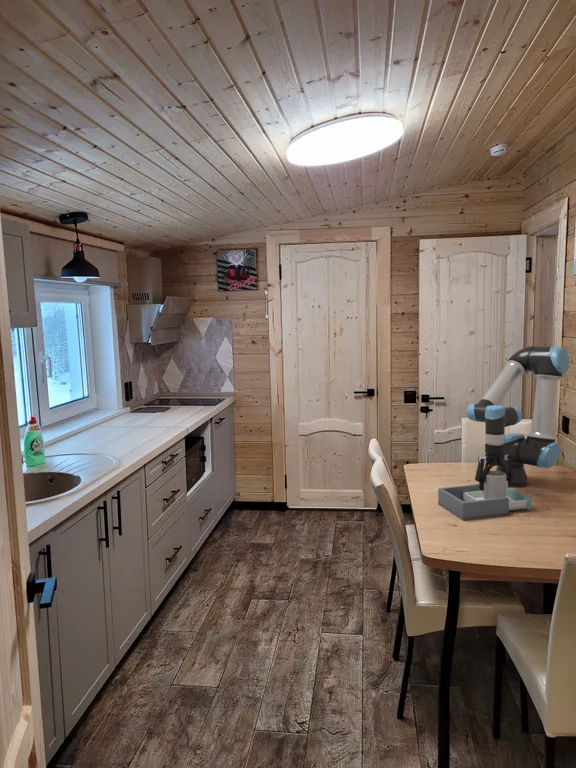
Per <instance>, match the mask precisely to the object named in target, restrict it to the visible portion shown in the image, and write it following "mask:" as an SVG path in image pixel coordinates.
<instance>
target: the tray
mask: <svg viewBox="0 0 576 768" xmlns="http://www.w3.org/2000/svg"><path fill="white" fill-rule="evenodd" d="M506 497H508V498H509V511H516V510H525V509H527V510H531V509H532V498H531V497H529V496H527V495H526V494H523V493H521V492H518V491H516V490H514V489H512V488H511V487H509V488H508V496H506ZM463 500H464V501H465V502H469V501H477V500H485V499H484V498H482V497H481V491H473V492H464V493H463Z"/></svg>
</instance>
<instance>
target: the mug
mask: <svg viewBox="0 0 576 768" xmlns="http://www.w3.org/2000/svg"><path fill="white" fill-rule="evenodd" d="M485 483H486V499H495V498H503V497H506V473H504V472H502V471H496V470H490V471H489V474H488V475H487V474H486V480H485ZM486 499H485V500H486Z"/></svg>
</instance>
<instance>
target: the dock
mask: <svg viewBox="0 0 576 768" xmlns="http://www.w3.org/2000/svg"><path fill="white" fill-rule="evenodd" d="M437 491H438V499H437V501H438V502H437V504H438V506H440V507H441V508H443V509H444V510H446V511H447V512H449V513H451V514H452V515H454V516H455V517H457V518H459V519H460V520H461V521H471V520H477V519H487V518H496V517H504V516H509V514H510V513H509V512H510V510H509V498H508V497H503V498H495V499H486V500H477V501H469V502H465V501H464V500H463V493H464V492H473V491H481V490H480V489H479V483H477V484H476V483H475V484H466V485H458V486H457V485H456V486H447V487H440V488H438V490H437Z"/></svg>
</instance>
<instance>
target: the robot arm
mask: <svg viewBox="0 0 576 768" xmlns="http://www.w3.org/2000/svg"><path fill="white" fill-rule="evenodd" d="M503 367H504V368H502V371H501V372H500V373H499V374H498V376H497V377H496V379H495V380H494V381H493V382H492V384H490V385H491V386H489V388H488V389H487V391H486V392H485V393H484V395H483V396H482V397H481V398H480V400H479V401H478V403H470V404H469V405H468V406H467V408H466V416H467V418H468V420H470V421H474V422H479V423H484V432H485V433H484V442H485V444H484V452H485V454H484V456H483V457H481V456H479V457H477V461H478V464H477V468H476V472H475V477H474V480H475V481H476V482H477V483H478V484H479V489H480V490H481V497H482V498H484V499H486V483H485V480H486V474H487V475H488V474H489V471H491V469H493V468H494V467H496V469H495V471H502V472H504V473H506V496H508V488H520V487H521V488H522V487H525V486H527V485H529V482H528V481H529V479H528V476H527V473H526V469H525V465H528V466H533V467H537V468H544V469H545V468H546V469H550V468H552V467H553V466H555V464H556V463H557V461H558V459H559V456H560V451H561V448H560V446H559V445H560V444H558V443H557V442H556V437H555V436H554V435H553V428H554V420H555V411H556V404H557V403H556V402H557V393H558V385H559V381H560V380H561V379H562V378H563V375H564V374H567V372H568V370H569V368H570V356H569V354H568V351H567V350H566V349H564V348H563V347H561V346H560V347H559V346H553V345H552V346H534V345H532V346H531V345H530V346H526V347H523V348H521V349H519V350H517V351H516V352H515V353H513V354H512V355H511V356H510V357H509V358H508V359H507V360H506V362H505V363H504V365H503ZM529 372H532V373H533V376H534V377H535V379H536V385H535V395H534V402H533V403H534V404H533V410H532V411H533V412H532V420H531V421H532V422H531V423H532V424H531V431H530V432H529V433H527V434H526V436H525V434H524V433H506V432H505V430H506V429H505V428H506V427H511V426H515V425H517V424H519V423H520V422H521V421H522V419H523V414H522V410H520V408H519V407H518V406H508V407H505V406H503V405H500V404H501V402H502V401H503V400H504V399H505V397H506V396H507V394H508V393H509V392H510V390H512V387H513V386H515V383H516V382H517V381H518V380H519V378H522V377H523V376H524V375H525V373H529Z"/></svg>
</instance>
